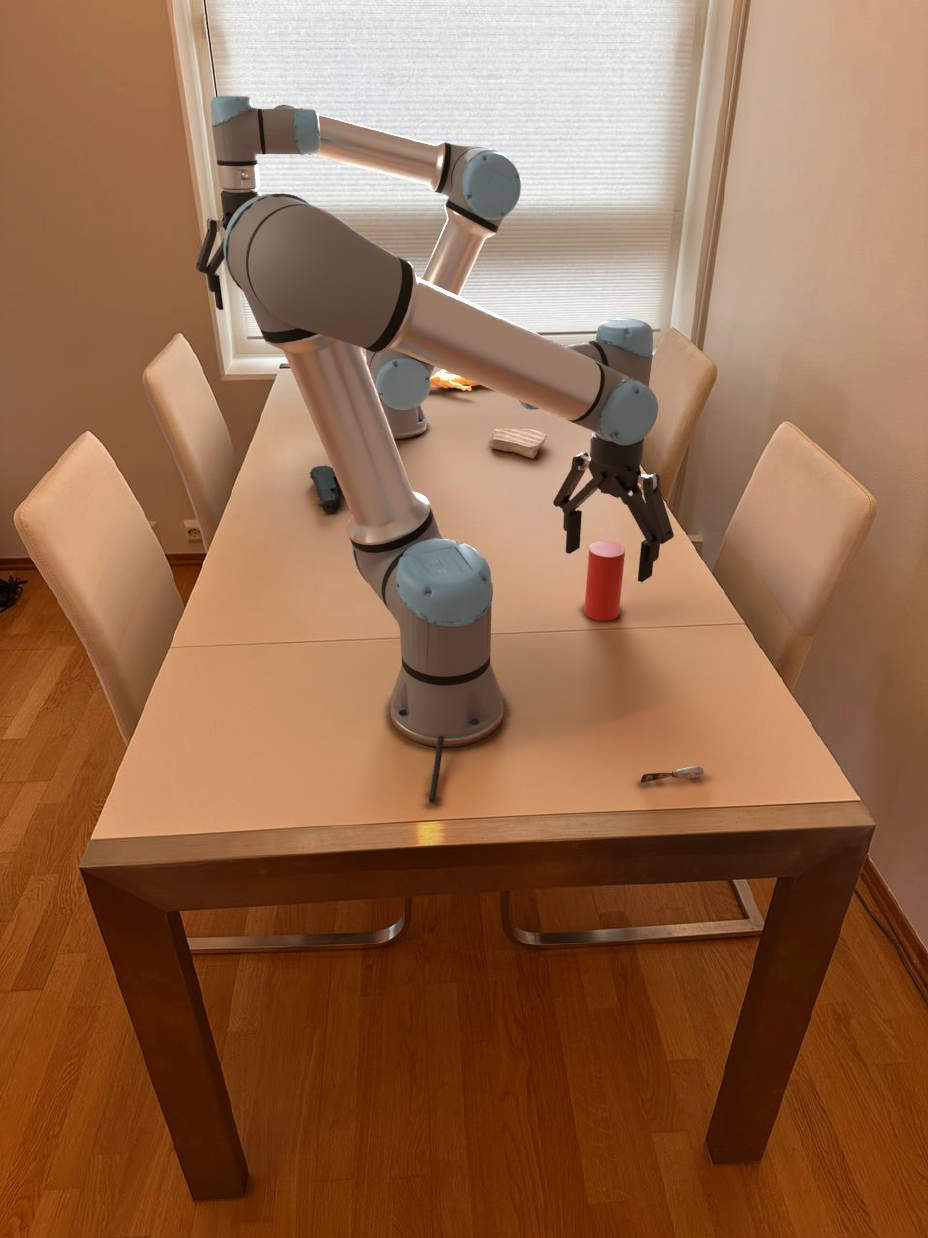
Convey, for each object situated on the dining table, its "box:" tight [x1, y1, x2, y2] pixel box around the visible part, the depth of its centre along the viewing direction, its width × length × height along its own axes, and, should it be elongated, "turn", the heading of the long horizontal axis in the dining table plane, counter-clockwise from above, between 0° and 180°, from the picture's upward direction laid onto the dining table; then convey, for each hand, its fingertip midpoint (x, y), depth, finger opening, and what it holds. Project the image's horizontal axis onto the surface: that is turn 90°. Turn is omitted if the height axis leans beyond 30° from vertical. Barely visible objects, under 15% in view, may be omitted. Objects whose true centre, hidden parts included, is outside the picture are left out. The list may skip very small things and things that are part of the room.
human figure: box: [430, 369, 480, 392], centre depth 242 cm, size 20×20×4 cm
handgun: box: [309, 465, 343, 514], centre depth 182 cm, size 3×18×12 cm
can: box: [583, 540, 626, 622], centre depth 140 cm, size 6×6×11 cm
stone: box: [490, 427, 547, 459], centre depth 203 cm, size 13×12×3 cm
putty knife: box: [640, 765, 705, 784], centre depth 109 cm, size 1×8×2 cm, turn 103°
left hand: (253, 305), depth 181 cm, fingers open, 13 cm apart
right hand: (607, 564), depth 138 cm, fingers open, 13 cm apart
